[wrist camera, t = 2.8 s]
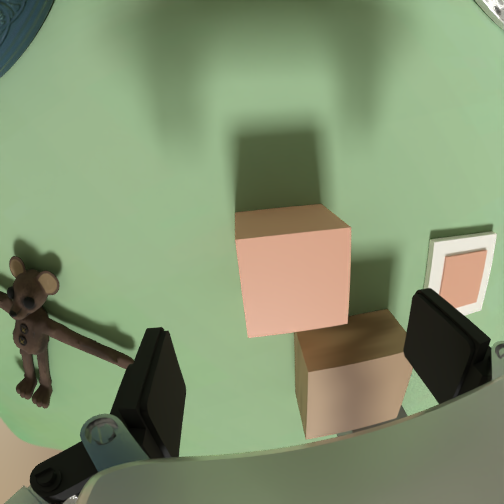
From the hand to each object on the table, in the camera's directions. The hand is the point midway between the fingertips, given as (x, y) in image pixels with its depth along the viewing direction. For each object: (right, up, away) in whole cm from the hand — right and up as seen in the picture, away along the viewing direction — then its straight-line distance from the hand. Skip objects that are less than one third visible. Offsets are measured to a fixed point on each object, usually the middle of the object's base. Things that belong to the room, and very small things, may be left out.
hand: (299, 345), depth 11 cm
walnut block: (+5, -4, +11) cm, 13 cm away
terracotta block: (0, +4, +8) cm, 8 cm away
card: (+14, +1, +9) cm, 17 cm away
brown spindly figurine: (-19, -3, +10) cm, 22 cm away
